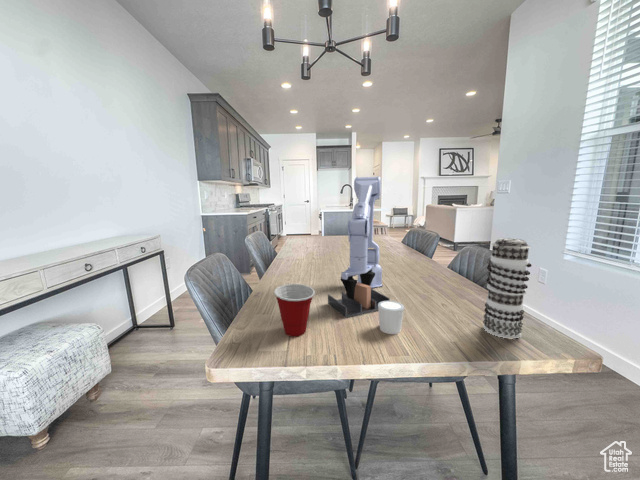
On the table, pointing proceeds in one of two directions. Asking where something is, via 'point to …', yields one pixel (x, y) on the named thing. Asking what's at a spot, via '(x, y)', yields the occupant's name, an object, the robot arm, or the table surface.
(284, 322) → the plastic cup
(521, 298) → the decorative candle
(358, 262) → the robot arm
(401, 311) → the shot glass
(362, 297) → the upright salmon slab
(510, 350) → the table surface
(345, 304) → the rack
